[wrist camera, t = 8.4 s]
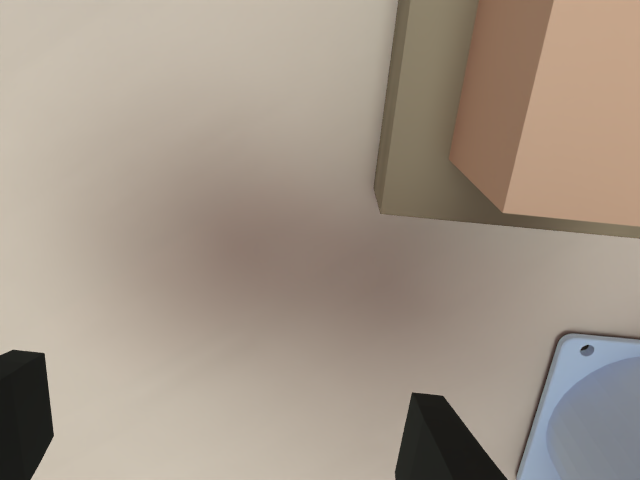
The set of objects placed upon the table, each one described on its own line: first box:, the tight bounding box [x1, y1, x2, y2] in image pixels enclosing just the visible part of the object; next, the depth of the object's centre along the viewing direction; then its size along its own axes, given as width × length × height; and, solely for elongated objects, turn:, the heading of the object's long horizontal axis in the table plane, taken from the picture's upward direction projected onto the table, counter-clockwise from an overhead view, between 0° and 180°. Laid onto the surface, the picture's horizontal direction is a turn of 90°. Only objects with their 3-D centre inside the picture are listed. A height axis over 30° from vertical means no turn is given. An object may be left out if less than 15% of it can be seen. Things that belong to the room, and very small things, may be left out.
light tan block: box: [449, 0, 640, 227], centre depth 11 cm, size 4×4×5 cm
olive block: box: [374, 0, 640, 239], centre depth 15 cm, size 8×8×3 cm
